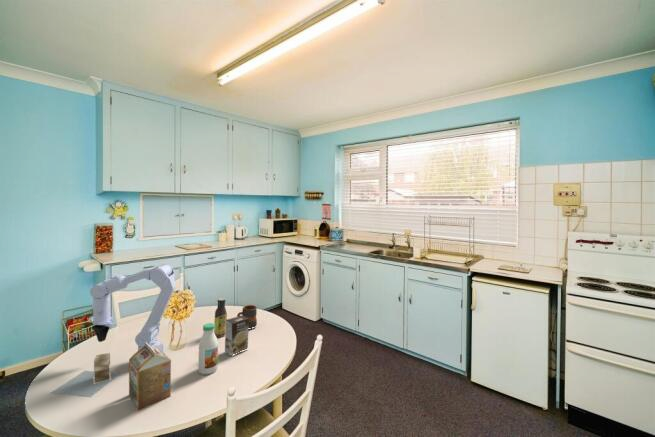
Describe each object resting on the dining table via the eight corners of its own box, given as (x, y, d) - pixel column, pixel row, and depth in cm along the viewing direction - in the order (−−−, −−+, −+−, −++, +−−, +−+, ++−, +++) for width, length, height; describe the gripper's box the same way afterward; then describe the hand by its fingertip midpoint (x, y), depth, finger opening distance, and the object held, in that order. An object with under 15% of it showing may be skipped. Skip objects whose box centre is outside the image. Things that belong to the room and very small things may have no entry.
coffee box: (231, 357, 138) (232, 323, 137) (224, 352, 142) (225, 319, 141) (248, 349, 145) (249, 318, 144) (240, 345, 149) (241, 314, 148)
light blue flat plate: (121, 374, 121) (121, 373, 121) (90, 398, 106) (90, 396, 106) (85, 371, 122) (85, 370, 122) (49, 394, 107) (49, 393, 107)
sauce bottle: (218, 338, 155) (219, 302, 153) (211, 335, 158) (211, 299, 157) (228, 334, 160) (229, 298, 159) (221, 331, 163) (222, 296, 162)
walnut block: (108, 373, 120) (108, 363, 120) (109, 379, 117) (109, 368, 117) (94, 377, 117) (94, 366, 117) (94, 383, 114) (94, 372, 114)
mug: (233, 328, 168) (233, 308, 167) (251, 322, 176) (252, 303, 176) (240, 333, 162) (240, 312, 161) (259, 327, 170) (260, 307, 170)
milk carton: (170, 396, 109) (170, 347, 108) (137, 410, 101) (138, 357, 100) (160, 383, 116) (160, 337, 115) (129, 396, 108) (129, 346, 107)
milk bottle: (197, 376, 122) (197, 329, 121) (199, 366, 129) (200, 321, 128) (216, 374, 124) (217, 328, 123) (218, 364, 131) (219, 320, 130)
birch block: (110, 363, 120) (110, 352, 120) (108, 369, 116) (108, 358, 116) (96, 365, 118) (96, 355, 117) (94, 371, 114) (93, 360, 114)
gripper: (122, 310, 127) (122, 340, 128) (101, 304, 133) (101, 333, 134) (105, 315, 121) (105, 347, 122) (83, 309, 126) (83, 340, 127)
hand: (101, 340), depth 127 cm, fingers closed
